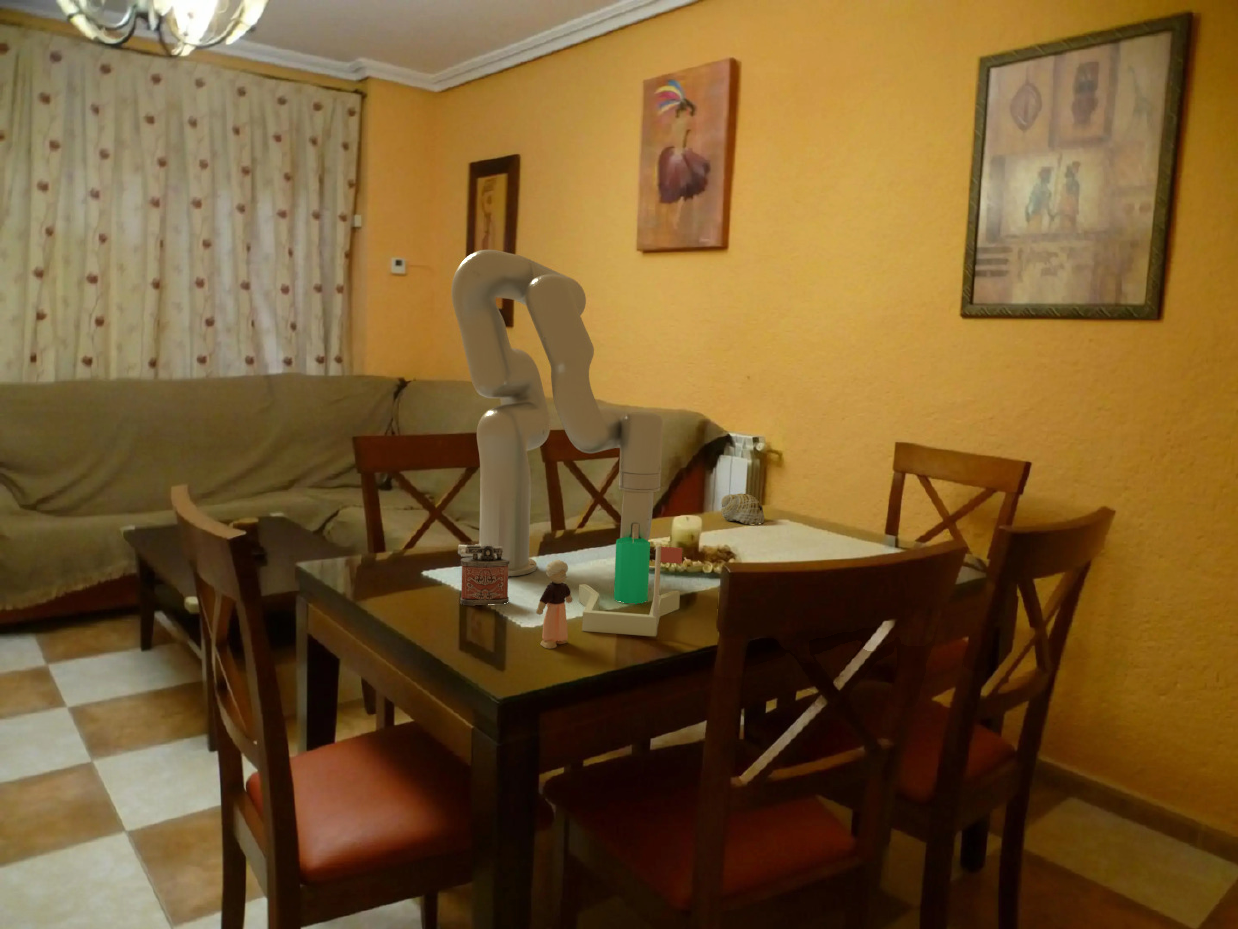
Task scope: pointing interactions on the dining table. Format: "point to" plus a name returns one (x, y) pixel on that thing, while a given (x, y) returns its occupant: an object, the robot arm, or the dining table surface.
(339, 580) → the dining table surface
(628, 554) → the candle
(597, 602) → the white tray with post
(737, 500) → the seashell
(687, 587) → the dining table surface
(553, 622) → the grandmother figurine
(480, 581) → the lighter
